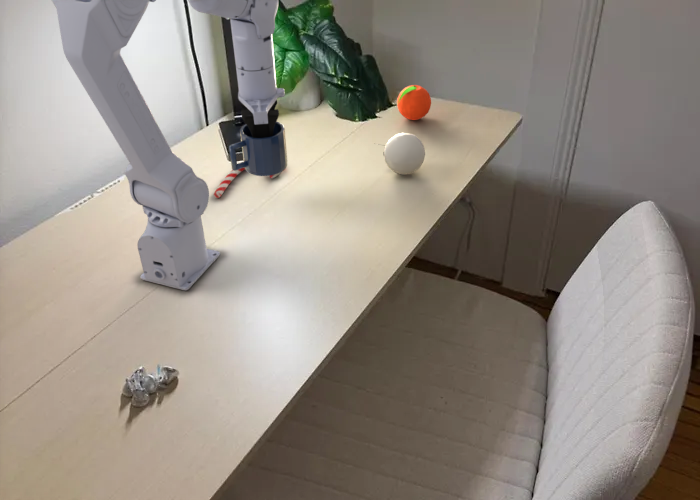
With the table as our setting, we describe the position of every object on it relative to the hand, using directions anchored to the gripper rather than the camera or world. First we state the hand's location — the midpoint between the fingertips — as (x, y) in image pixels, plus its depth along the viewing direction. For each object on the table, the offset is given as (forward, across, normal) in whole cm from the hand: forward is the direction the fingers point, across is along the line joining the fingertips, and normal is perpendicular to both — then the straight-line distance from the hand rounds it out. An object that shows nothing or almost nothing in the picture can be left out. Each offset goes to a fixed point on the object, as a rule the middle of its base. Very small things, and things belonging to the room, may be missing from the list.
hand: (263, 146), depth 108 cm
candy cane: (+11, +8, +4) cm, 14 cm away
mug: (+3, -1, +1) cm, 4 cm away
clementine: (+10, +27, -31) cm, 42 cm away
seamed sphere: (+11, +7, -24) cm, 27 cm away
